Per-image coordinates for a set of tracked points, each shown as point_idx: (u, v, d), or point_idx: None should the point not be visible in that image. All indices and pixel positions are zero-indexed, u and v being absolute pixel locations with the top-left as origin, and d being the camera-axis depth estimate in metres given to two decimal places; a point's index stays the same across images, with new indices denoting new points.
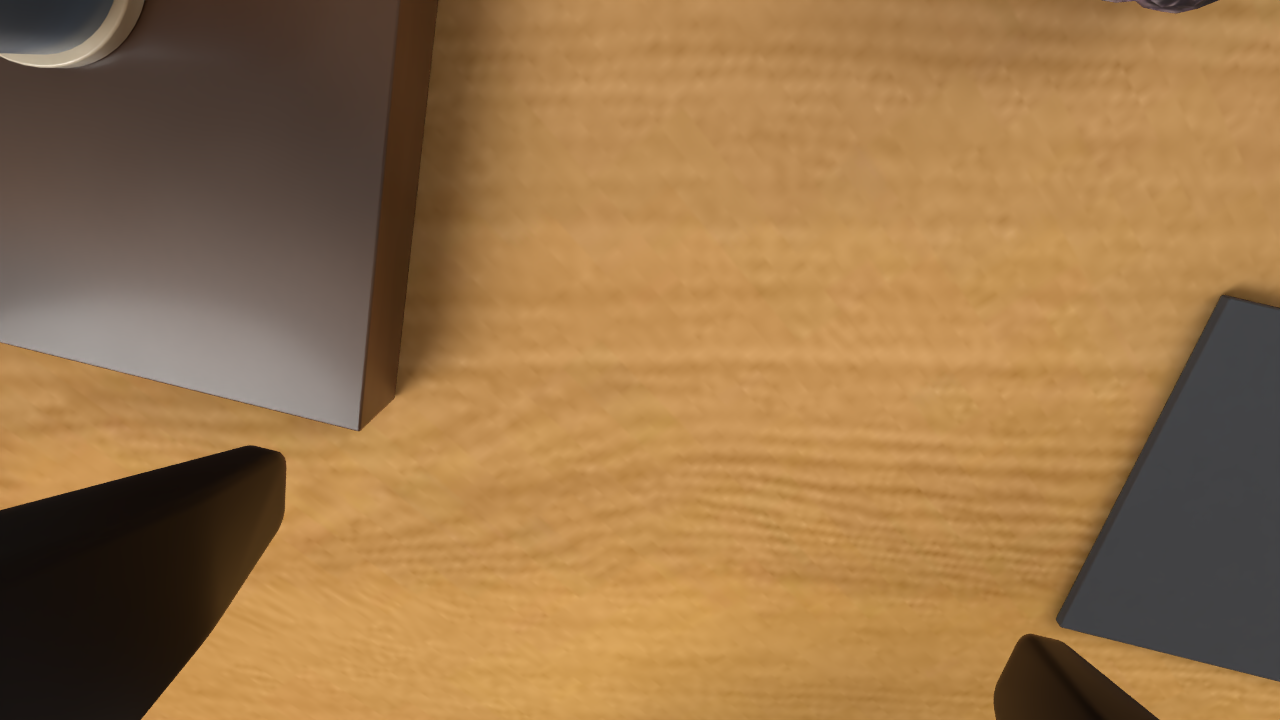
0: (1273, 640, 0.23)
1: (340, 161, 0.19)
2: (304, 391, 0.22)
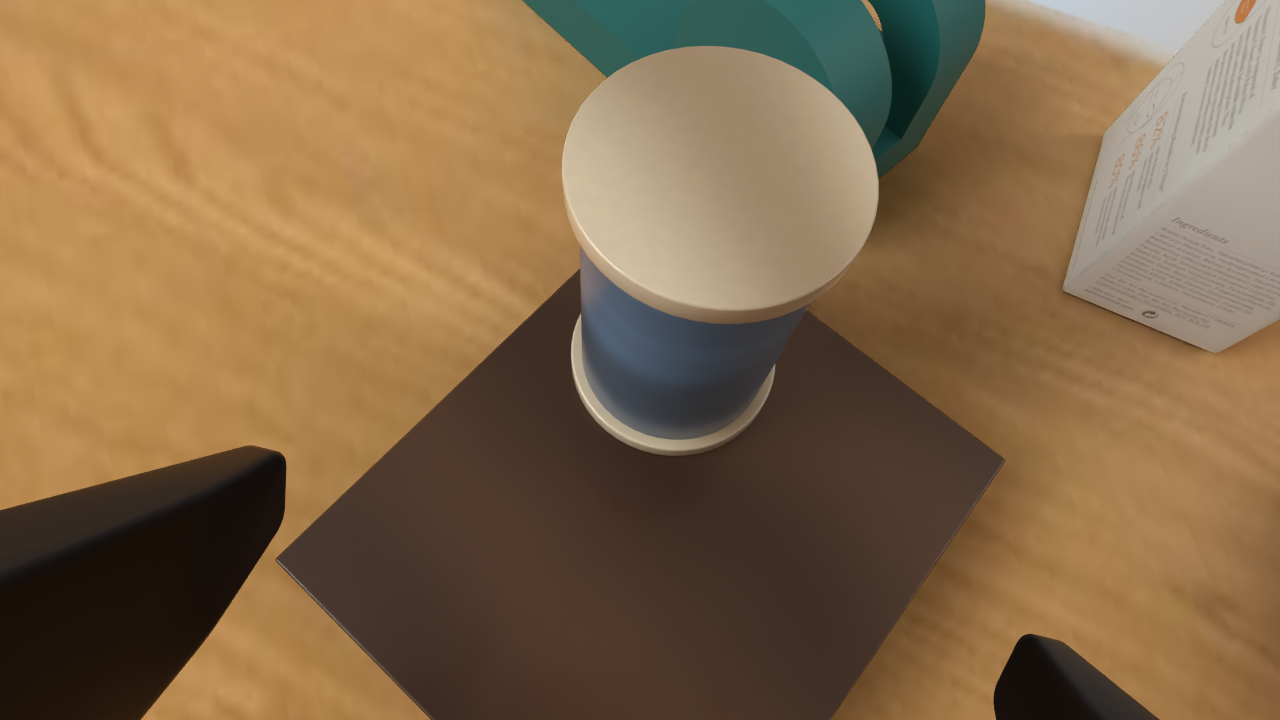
0: None
1: (822, 646, 0.19)
2: None
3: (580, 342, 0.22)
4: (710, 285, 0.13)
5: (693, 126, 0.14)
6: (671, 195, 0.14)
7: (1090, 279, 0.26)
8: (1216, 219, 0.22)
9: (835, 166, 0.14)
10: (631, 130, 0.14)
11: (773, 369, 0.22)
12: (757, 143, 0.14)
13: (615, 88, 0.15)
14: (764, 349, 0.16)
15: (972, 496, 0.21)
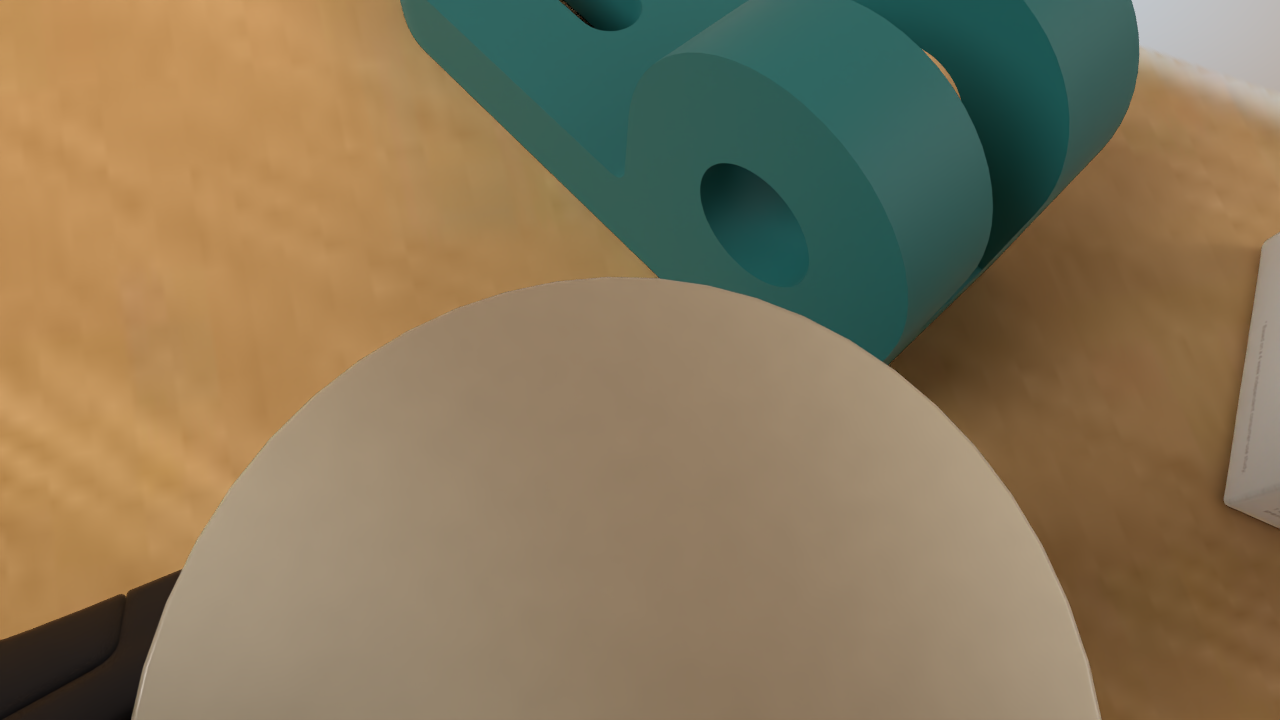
0: None
1: None
2: None
3: None
4: None
5: (556, 548, 0.05)
6: None
7: (1279, 501, 0.16)
8: None
9: (974, 683, 0.05)
10: (369, 568, 0.05)
11: None
12: (741, 606, 0.05)
13: (343, 421, 0.05)
14: None
15: None
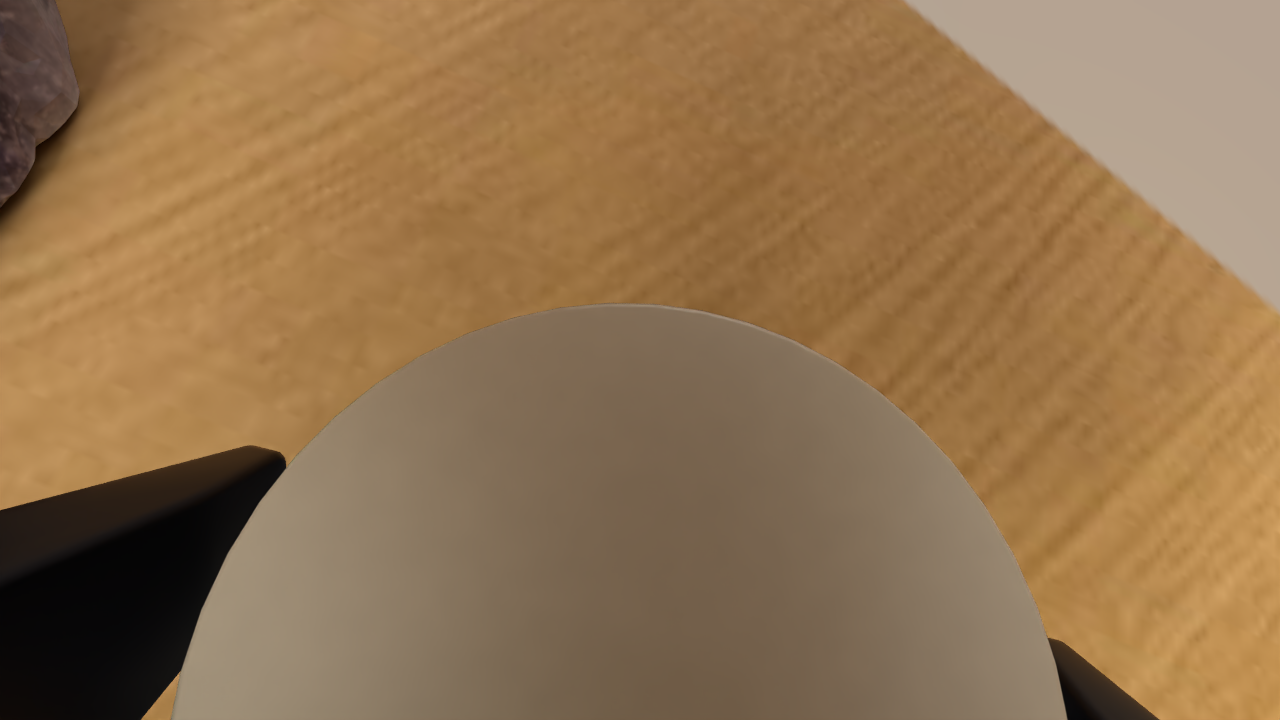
0: None
1: None
2: None
3: None
4: None
5: (561, 559, 0.05)
6: None
7: None
8: None
9: (948, 682, 0.05)
10: (389, 579, 0.05)
11: None
12: (734, 612, 0.05)
13: (362, 441, 0.06)
14: None
15: None
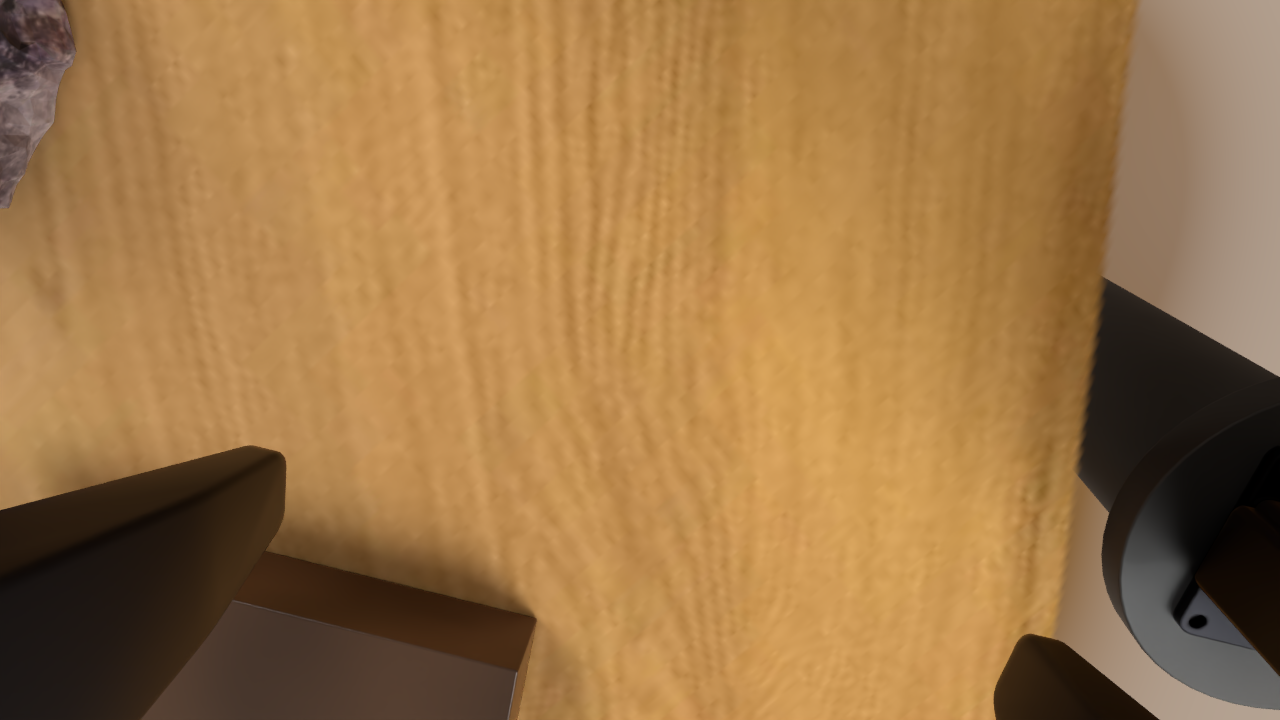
0: None
1: (283, 641, 0.24)
2: (483, 706, 0.24)
3: None
4: None
5: None
6: None
7: None
8: None
9: None
10: None
11: None
12: None
13: None
14: None
15: None
